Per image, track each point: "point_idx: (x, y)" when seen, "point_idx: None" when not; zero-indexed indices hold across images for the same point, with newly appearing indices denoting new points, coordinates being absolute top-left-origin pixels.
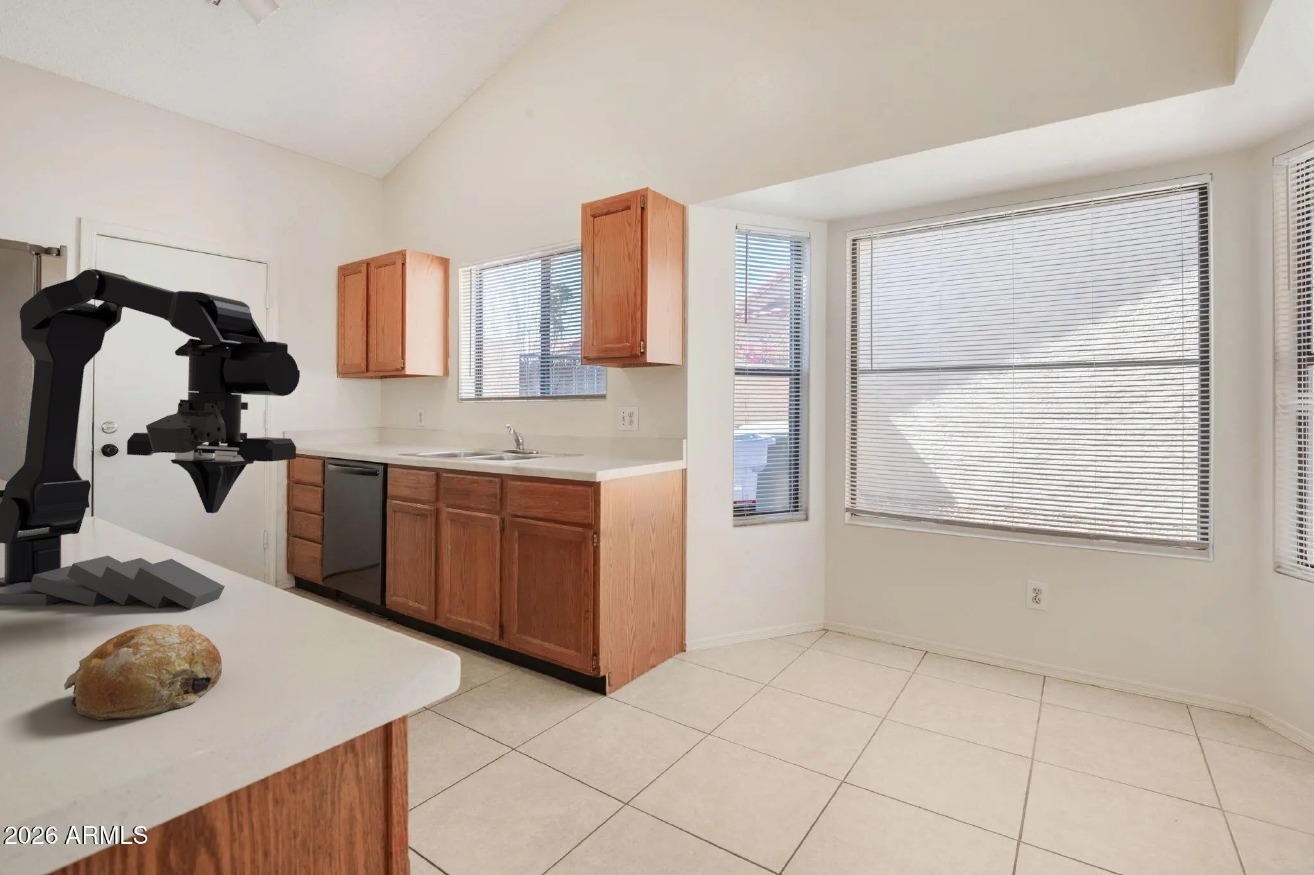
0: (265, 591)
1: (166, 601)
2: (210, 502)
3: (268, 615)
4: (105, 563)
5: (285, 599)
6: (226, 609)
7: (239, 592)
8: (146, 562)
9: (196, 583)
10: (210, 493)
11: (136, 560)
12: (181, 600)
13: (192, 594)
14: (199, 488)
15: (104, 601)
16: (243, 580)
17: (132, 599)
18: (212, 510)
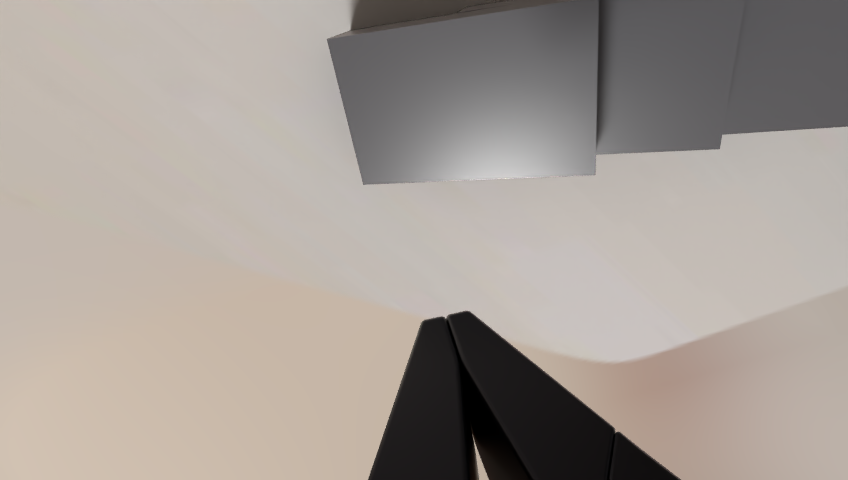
0: (318, 268)
1: None
2: (436, 364)
3: (19, 58)
4: (813, 72)
5: (173, 226)
6: (239, 74)
7: (382, 235)
8: (679, 140)
9: (406, 113)
10: (435, 426)
11: (712, 117)
12: (384, 26)
13: (344, 38)
14: (581, 439)
15: None
16: None
17: None
18: (422, 331)
